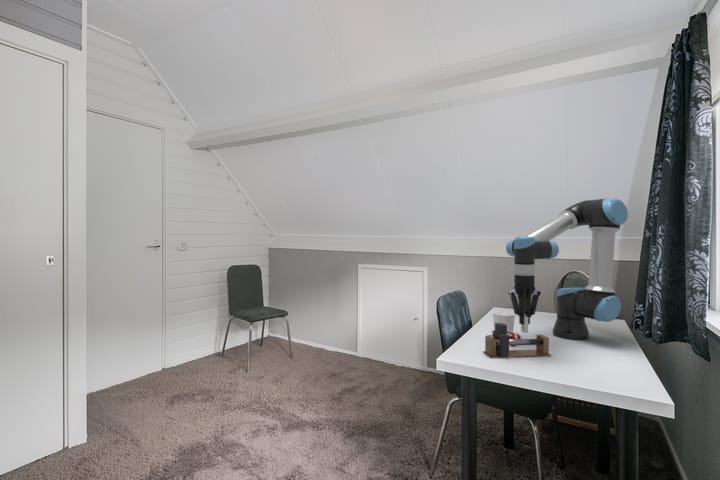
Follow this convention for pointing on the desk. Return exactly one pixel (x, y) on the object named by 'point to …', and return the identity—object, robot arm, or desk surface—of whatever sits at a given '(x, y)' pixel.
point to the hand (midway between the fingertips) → (524, 332)
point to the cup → (504, 319)
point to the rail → (540, 351)
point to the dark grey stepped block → (501, 339)
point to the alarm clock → (511, 336)
